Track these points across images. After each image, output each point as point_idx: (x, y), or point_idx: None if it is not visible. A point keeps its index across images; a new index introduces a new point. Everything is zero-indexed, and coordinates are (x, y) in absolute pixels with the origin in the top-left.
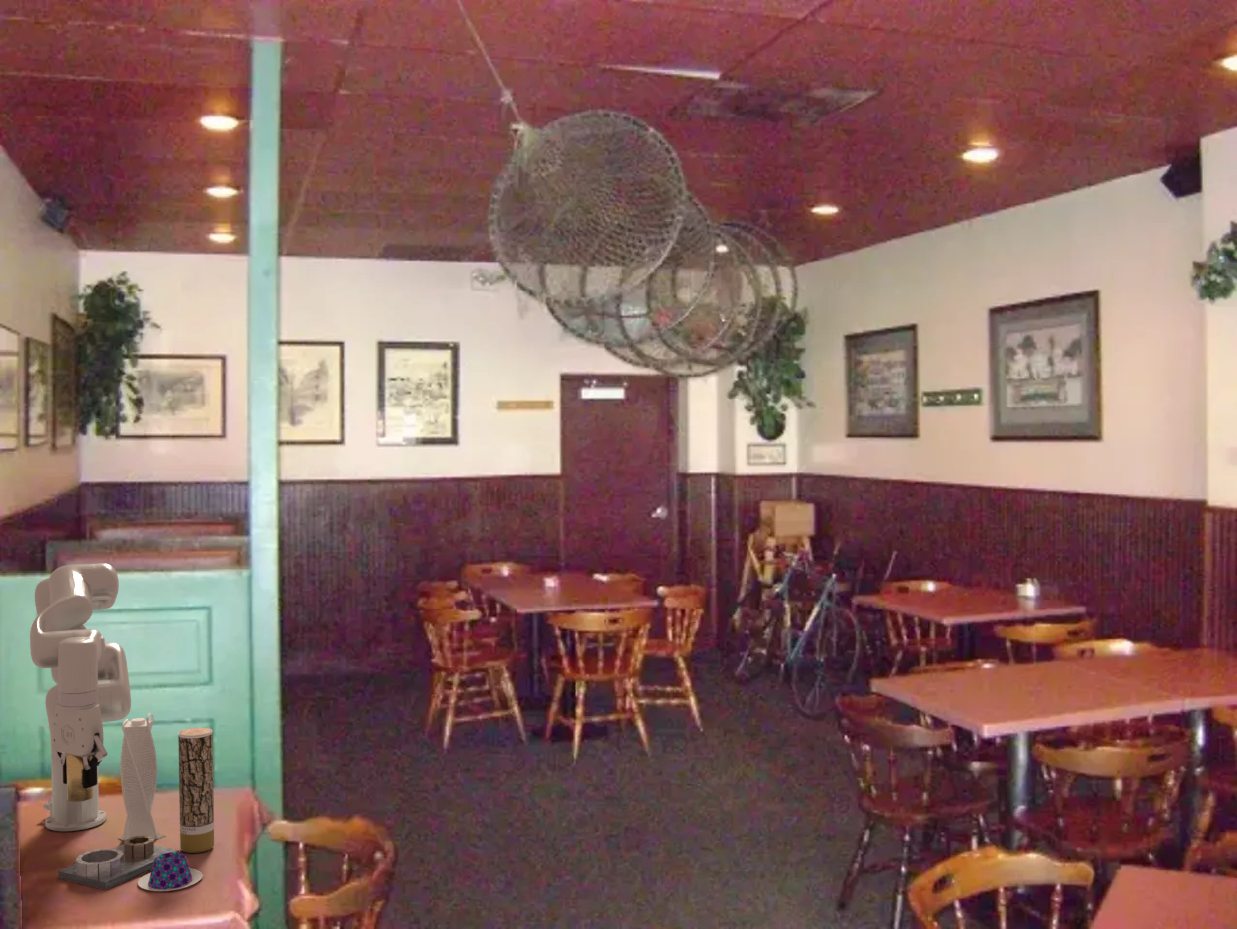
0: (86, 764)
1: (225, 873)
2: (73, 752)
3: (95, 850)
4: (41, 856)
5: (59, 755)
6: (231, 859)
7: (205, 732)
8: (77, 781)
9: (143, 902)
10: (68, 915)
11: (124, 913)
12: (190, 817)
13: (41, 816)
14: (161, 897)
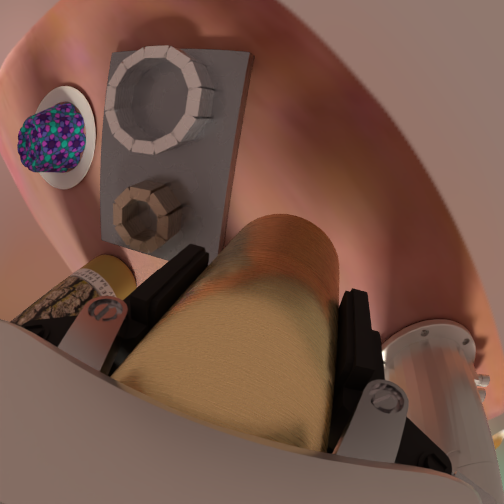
0: (94, 322)
1: (32, 195)
2: (74, 393)
3: (183, 127)
4: (399, 175)
5: (430, 448)
6: (55, 246)
7: None
8: (223, 259)
9: (53, 56)
10: None
11: (57, 18)
12: (58, 285)
13: (488, 370)
14: (43, 83)
